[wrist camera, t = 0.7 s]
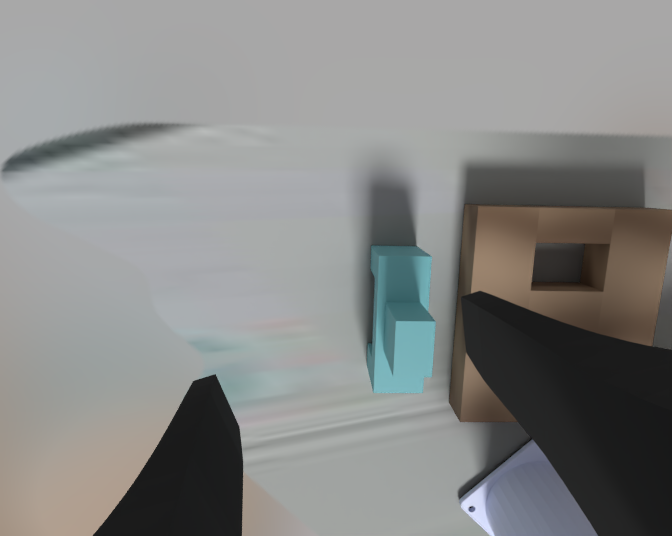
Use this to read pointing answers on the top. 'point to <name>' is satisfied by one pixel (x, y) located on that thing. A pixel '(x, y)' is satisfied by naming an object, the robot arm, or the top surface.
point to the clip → (401, 320)
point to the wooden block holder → (559, 297)
